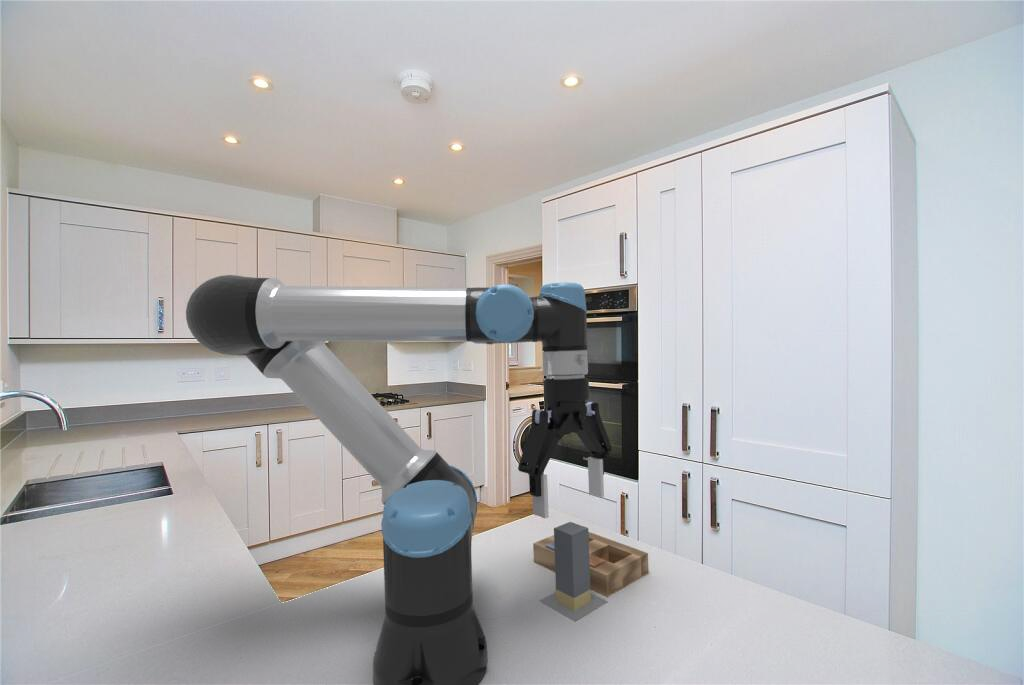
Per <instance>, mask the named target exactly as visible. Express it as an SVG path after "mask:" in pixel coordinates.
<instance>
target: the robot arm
mask: <svg viewBox="0 0 1024 685" xmlns="http://www.w3.org/2000/svg"><path fill="white" fill-rule="evenodd" d="M585 292H586V291H585V289H584V287H583V286H582V284H580V283H577V282H564V281H563V282H554V283H552V282H551V283H546V284H543V285H542V286H541V287H540V290H539V295H537V296H532V297H529V295H528V294H527V293H526V292H525V291H524V290H523V289H521V288H520V287H518V286H516V285H513V284H510V283H501V284H496V285H493V286H491V287H467V286H464V287H463V286H462V287H461V286H459V287H457V286H451V287H450V286H361V285H360V286H355V285H352V286H346V285H342V286H338V285H336V286H335V285H324V286H323V285H285V284H284V283H283V282H282V281H281V280H280V279H278V278H275V277H249V276H241V275H235V274H226V275H225V274H224V275H220V276H219V275H218V276H215V277H213V278H210V279H208V280H206V281H204V282H202V283H201V284H200V285H199V286H198V287H197V288H196V289H195V290H194V291H193V292H192V294H191V295H190V297H189V299H188V302H187V305H186V309H185V320H186V324H187V327H188V329H189V331H190V333H191V335H192V336H193V337H194V339H196V341H197V342H198V343H200V344H201V345H203V347H205V348H206V349H208V350H209V351H212V352H216V353H218V354H222V355H225V356H226V355H228V356H245V357H246V358H247V359H248V360H249V361H250V362H251V363H252V364H253V365H254V366H255V368H256V369H258V371H259V372H260V373H261V374H262V375H263V376H264V377H265V378H267V379H280V380H282V382H283V383H285V385H287V387H288V388H289V389H290V390H291V391H292V392H293V393H294V395H296V396H297V398H298V399H299V400H300V401H301V402H302V403H303V404H304V405H305V406H306V407H307V409H309V411H310V412H311V413H312V414H313V415H314V416H315V417H316V418H317V419H318V420H319V422H321V423H322V425H323V426H324V427H325V428H326V429H327V430H328V431H329V433H331V435H333V437H334V438H336V440H337V441H338V442H339V443H340V444H341V445H342V446H343V448H345V449H346V450H347V451H348V453H349V454H350V455H351V456H352V457H353V458H354V459H355V460H356V461H357V462H358V463H359V464H360V466H361V467H362V468H363V469H364V470H365V471H366V472H367V473H368V474H369V475H370V476H371V478H373V480H374V481H376V482H377V484H378V485H379V486H380V487H381V502H380V503H382V505H383V509H382V517H381V518H382V519H381V525H380V526H381V535H382V543H383V544H382V545H383V546H382V548H383V551H382V552H383V580H384V581H383V582H384V606H385V609H384V610H385V611H384V612H385V613H384V614H385V616H384V619H383V623H382V626H381V631H380V633H379V637H378V640H377V644H376V648H375V651H374V654H373V662H372V675H373V685H479V683H480V682H481V680H482V679H483V678H484V676H485V674H486V671H487V668H488V666H487V665H488V643H487V639H486V636H485V633H484V631H483V628H482V625H481V622H480V619H479V617H478V614H477V612H476V608H475V605H474V601H473V599H474V598H473V596H474V595H473V570H472V569H473V568H472V566H473V563H472V540H473V532H474V527H475V521H476V520H475V519H476V517H477V512H478V497H477V496H478V495H477V492H476V489H475V486H474V484H473V481H472V480H471V479H470V478H469V476H468V475H467V474H466V473H465V472H464V471H463V470H462V469H460V468H458V467H455V466H453V465H449V463H448V462H447V461H446V460H445V459H444V458H443V457H442V456H441V455H440V454H439V452H437V451H436V450H435V449H434V450H433V449H424V448H423V449H422V448H421V447H420V446H419V445H418V443H417V442H415V440H413V438H412V437H411V436H410V435H409V434H408V433H407V432H406V431H405V430H404V428H403V427H402V426H401V424H399V423H398V422H397V421H396V420H395V419H394V418H393V416H392V415H391V414H390V413H389V412H388V411H387V410H386V409H385V408H384V407H383V406H382V405H381V404H380V403H379V402H378V400H377V399H376V398H375V397H374V396H373V395H372V394H371V393H370V392H369V391H368V390H367V388H366V387H365V386H363V384H362V383H361V381H359V379H357V378H356V376H354V374H353V372H351V371H350V370H349V369H348V367H347V366H345V365H344V363H343V362H341V360H340V359H339V358H338V357H337V356H336V355H335V354H334V352H332V350H330V348H329V347H328V346H327V345H326V342H461V343H462V342H466V343H467V342H468V343H469V342H470V343H474V344H476V345H477V344H479V345H480V344H483V345H484V344H485V345H494V344H513V343H515V344H517V343H518V344H519V343H530V342H531V343H537V342H539V343H541V344H542V349H541V350H542V352H541V353H542V374H543V376H545V377H546V378H544V380H543V384H542V386H543V399H544V401H546V403H547V404H546V405H547V406H546V407H547V408H546V409H545V410H543V409H536V408H534V409H533V410H532V412H531V424H530V428H529V431H528V434H527V437H526V441H525V444H524V447H523V450H522V453H521V457H520V460H519V464H518V466H517V467H518V468H517V469H518V471H519V472H521V473H525V474H527V475H528V481H529V495H530V496H531V499H532V515H535V516H537V517H540V518H542V519H549V517H550V516H549V492H548V489H549V488H548V474H545V473H544V472H545V470H546V468H547V466H548V464H549V462H550V459H551V457H552V456H553V453H554V451H555V450H556V447H557V445H558V443H559V441H560V440H561V439H563V438H564V436H568V435H570V434H571V433H575V434H576V435H577V436H578V438H579V439H580V441H581V442H582V443H583V445H584V447H585V448H586V449H587V451H588V452H589V454H590V455H591V456H588V457H587V468H588V469H587V473H588V494H589V496H593V497H597V498H600V499H601V498H605V489H604V484H605V482H604V476H605V459H609V457H610V453H611V452H612V451H613V447H612V445H611V442H610V439H609V436H608V434H607V430H606V428H605V425H604V423H603V420H602V417H601V415H600V407H599V403H598V402H594V401H588V400H589V398H590V382H589V381H590V380H589V378H588V377H585V375H588V373H589V363H588V330H587V329H588V328H587V327H588V325H587V324H588V323H587V322H588V321H587V317H588V316H587V313H588V309H587V303H586V301H587V300H586V293H585Z"/></svg>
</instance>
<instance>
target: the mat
mask: <svg viewBox="0 0 1024 685" xmlns="http://www.w3.org/2000/svg"><path fill="white" fill-rule="evenodd" d="M539 602H540V603H542V604H543V605H546V606H547V607H549V609H550V608H551V609H552V610H554V611H556V612H558V613H559V614H561V615H563V616H564V617H567V618H568V619H570V620H571V621H573V622H577V621H579V620H581V619H582V618H584V617H586V616H587V615H589V614H591V613H593V612H594V611H596V610H598V609H599V608H600V607H602V606H604V605H605V604H607V603H609V601H608V600H606V599H605V598H601V597H599V596H597V595H595V594H594V593H591V602H589V603H587V604H586V605H584V606H582V607H580V608H579V609H577V610H575V611H574V610H572V609H570V608H568V607H566V606H564V605H563V604H561V603H559V602H557V601H556V591H555V592H554V593H552V594H550V595H547V596H546V597H544V598H542V599H540V600H539Z"/></svg>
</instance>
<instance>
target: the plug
mask: <svg viewBox="0 0 1024 685" xmlns="http://www.w3.org/2000/svg"><path fill="white" fill-rule="evenodd" d="M589 532H590V531H589V528H588V527H587V526H584V525H582V524H578V523H575V522H572V521H569V522H566V523H564V524H561V525H558V526H556V527H554V528H553V535H554V546H555V572H554V573H555V592H556V601H557V602H559V603H561V604H563V605H564V606H566V607H568V608H570V609H572V610H574V611H575V610H577V609H579V608H580V607H582V606H584V605H586V604H587V603H589V602H591V591H592V590H591V589H590V561H589Z"/></svg>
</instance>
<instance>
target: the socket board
mask: <svg viewBox="0 0 1024 685" xmlns="http://www.w3.org/2000/svg"><path fill="white" fill-rule="evenodd" d="M588 532H589V561H590V589H591V591H593V592H595V593H597V594H599V595H601V596H604V597H606V598H608V597H610V596H612V595H614V594H615V593H617V592H619V591H621V590H622V589H624V588H626V587H627V586H630V585H631V584H633V583H634V582H636V581H638V580H639V579H641V578H643V577H644V576H646V575H648V574H649V553H648V552H647V551H644V550H639V549H638V548H635V547H632V546H629V545H626V544H624V543H621V542H618V541H616V540H613V539H610V538H607V537H605V536H601V535H598V534H596V533H592V532H590V531H588ZM532 544H533V545H532V547H533V548H532V549H533V551H532V552H533V563H535V564H537V565H539V566H542V567H544V568H546V569H547V570H550V571H552V572H554V573H555V546H554V534H553V535H550V536H548V537H545V538H543V539H540V540H538V541H535V542H533V543H532Z"/></svg>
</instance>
